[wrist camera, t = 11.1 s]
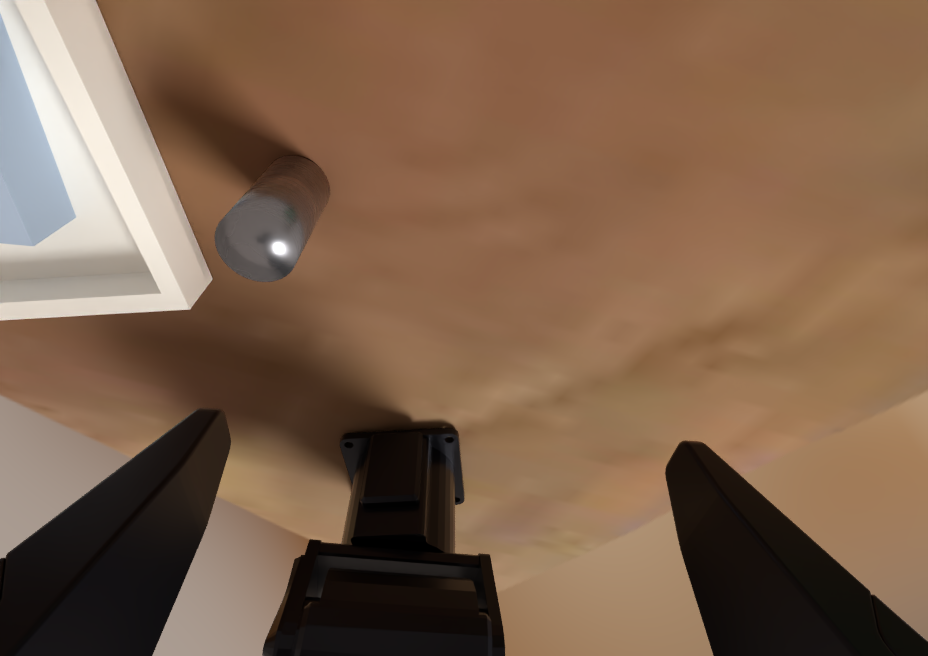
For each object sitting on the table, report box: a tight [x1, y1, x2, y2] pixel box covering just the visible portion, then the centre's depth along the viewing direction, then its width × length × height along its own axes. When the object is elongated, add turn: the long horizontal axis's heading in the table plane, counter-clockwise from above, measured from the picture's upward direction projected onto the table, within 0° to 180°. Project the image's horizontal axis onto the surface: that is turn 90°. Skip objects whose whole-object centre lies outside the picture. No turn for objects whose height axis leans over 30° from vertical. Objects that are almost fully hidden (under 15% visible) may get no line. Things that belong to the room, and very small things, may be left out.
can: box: [215, 155, 330, 282], centre depth 17 cm, size 2×2×5 cm
